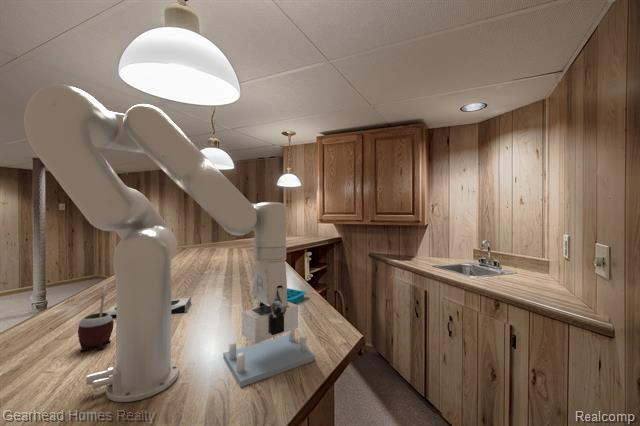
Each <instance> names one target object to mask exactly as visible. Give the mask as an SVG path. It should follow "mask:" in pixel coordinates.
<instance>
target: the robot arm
mask: <svg viewBox="0 0 640 426" xmlns="http://www.w3.org/2000/svg"><path fill="white" fill-rule="evenodd" d="M25 106H26V107H25V110H24V114H23V126H24V131H25V135H26V138H27V140H28V142H29V144H30V147H31V148H32V150H33V152H34V153H35V154H36V155H37V157H38V158H39V160H40V161H41V163H42V164H43V165H44V166H45V167H46V169H47V170H48V171H49V172H50V173H51V175H53V177H54V178H55V180H56V181H57V182H58V184H59V185H60V186H61V188H62V189H63V191H64V192H65V193H66V195H67V196H68V197H69V199H71V201H72V202H73V203H74V205H75V206H76V207H77V208H78V210H79V211H80V212H81V214H82V215H83V216H84V218H85V219H86V220H87V221H88V222H89V224H90V225H92V226H93V227H94V228H96V229H98V230H100V231H105V232H115V233H116V234H117V235H118V237H119V239H120V240H119V242H118V243H117V245H116V247H115V250H114V253H113V258H112V263H113V265H112V266H113V273H114V280H115V292H116V293H115V295H116V296H115V297H116V301H115V305H116V312H117V318H116V326H115V327H116V329H115V330H116V336H115V337H116V338H115V339H116V340H115V342H116V343H115V351H116V352H115V361H114V364H113V365H112V366H108V368H107V369H105V370H101V371H95V372H91V373H87V374H86V377H85V378H86V379H85V385H86V386H90V385H92V389H93V390H95V389H98V388H102V387H103V386H105V396H106V398H108V399H109V400H111V401H113V402H119V403H129V402H137V401H140V400H141V401H142V400H144V399H147V398H151V397H152V396H155V395H157V394H158V393H161V392H163V391H164V390H166V389H167V388H169V387H170V386H171V385H172V384H174V383H175V381H176V380H177V378H178V377H179V373H180V367H179V365H178V364H177V362H175V361H172V314H171V303H172V302H171V300H172V296H173V295H172V290H173V289H172V273H171V271H172V269H171V268H172V267H171V266H172V260H173V259H174V257H175V256H176V254H177V252H178V239H177V238H176V235H175V234H174V233H173V231H172V229H171V228H170V227H169V226H168V224H167V222H165V219H163V218H162V216H161V214H160V213H159V212H158V210H157V209H156V208H155V206H154V205H153V204H152V202H151V201H150V200H149V199H148V198H147V197H146V196H145V195H144V194H143V193H142V192H140V191H139V190H137V189H134V188H132V187H129V186H127V185H126V184H125V183H124V182H123V180H122V179H121V178H120V177H119V175H118V174H117V173H116V171H115V170H114V169H113V168H112V166H111V164H110V163H109V162H108V161H107V159H106V158H105V157H104V155H103V154H102V153H101V152H100V151H99V150H98V148H102V149H106V150H113V151H114V150H115V151H123V152H131V153H135V154H136V153H137V154H139V153H140V154H146V155H147V157H149V158H150V159H151V160H152V161H153V162H154V163H155V164H156V165H157V166H158V167H159V168H160V169H161V170H162V171H163V172H164V173H165V174H166V175H167V176H168V177H169V179H171V180H172V181H173V182H174V184H176V185H177V186H178V187H179V189H181V190H182V191H184V192H185V193H186V194H188V195H189V196H190V197H191V198H192V199H193V200H194V201H195V202H196V203H197V204H198V205H200V207H201V208H202V209H204V211H205V212H206V213H208V215H209V216H210V217H212V219H214V221H215V222H216V223H217V224H218V225H220V226H221V227H222V229H224V231H226V232H227V233H228V234H230V235H233V236H239V237H240V236H245V235H247V234H249V233H251V232H252V231H253V232H254V261H255V262H254V270H253V287H252V288H253V289H252V293H253V297H254V298H255V299H257V307H259V306H263V305H266V306H270V307H271V312H272V317H270V333H271V335H275V334H278V333H282V332H284V316H285V312H286V309H287V307H288V302H287V300H286V299H287V288H288V284H287V281H288V279H287V267H286V260H287V208H286V207H287V206H286V205H285V204H284V203H282V202H277V201H276V202H275V201H274V202H271V201H266V202H265V201H263V202H259V203H251V202H250V200H248V198H246V196H245V195H244V194H243V193H242V192H241V191H240V190H239V189H238V188H237V187H236V186H235V185H234V183H232V182H231V181H230V180H229V179H228V178H227V177H226V176H225V175H224V174H223V173H222V172H221V171H220V170H219V169H218V167H216V166H215V165H214V163H213V162H212V161H211V160H210V159H209V158H208V157H207V156H206V155H205V154H204V153H203V152H202V151H201V150H200V149H199V148H198V147H197V146H196V145H195V143H193V142H192V141H191V139H190V138H189V137H188V136H187V135H186V134H185V133H184V132H183V131H182V130H181V128H179V127H178V126H177V125H176V123H174V121H173V120H171V118H170V117H169V116H168V115H167V114H166V113H165V112H163V110H162V109H160V108H158V107H156V106H154V105H151V104H148V103H147V104H145V103H142V104H141V103H140V104H136V105H134V106H131V107H130V108H128V109H127V111H126V112H125V113H121V112H120V113H119V112H114V111H110V110H108V109H107V108H106V107H105V106H103V104H102V103H100V102H99V101H98V100H97V99H95V97H93V96H92V95H91V94H89V93H87V92H85V91H84V90H82V89H80V88H76V87H74V86H71V85H67V84H63V83H62V84H60V83H57V84H56V83H55V84H49V85H46V86H43V87H41V88H40V89H38V90H37V91H36V92H34V94H33V95H31V97H30V98H29V100H28V102H27V104H26V105H25ZM275 300H279V302H276V303H274V301H275ZM277 305H279V307H278V308H277V309H276V311H275V306H277ZM282 334H283V333H282Z"/></svg>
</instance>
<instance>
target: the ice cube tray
mask: <svg viewBox="0 0 640 426" xmlns="http://www.w3.org/2000/svg"><path fill="white" fill-rule="evenodd" d="M306 294H307V291H303V290H300V289H294V288H289V287H287V299H286V300H287V301H288V302H291V303H293V304H297V303H299V302H301V301H303V300H304V299H305V295H306ZM277 301H279V300H275V301H274V302H277Z"/></svg>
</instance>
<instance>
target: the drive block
mask: <svg viewBox="0 0 640 426" xmlns="http://www.w3.org/2000/svg"><path fill="white" fill-rule="evenodd" d="M277 302H279V301H277ZM287 302H288V301H287ZM274 303H276V302H274ZM278 307H279V305H277V306H275V311H276V309H277V308H278ZM270 317H272V312H271V307H270V306H266V305H263V306H259V307H258V306H256V307H252V308H250V309H249V308H248V309H246V310H242V311H241V336H243V337H244V338H246V339H248V340H249V341H250V342H252V343H253V344H258V343H261V342H265V341H268V339H269V340H270V339H273V338H274V337H277V336H279V335H283V334H285V333H287V332H288V333H289V331H290V330H293V329H295V330H296V329H297V328H299V306H298V304H297V303H295V304H293V303H291V302H288V307H287V309H286V312H285V316H284V332H282V333H278V334H275V335H271V333H270Z"/></svg>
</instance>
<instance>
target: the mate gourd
mask: <svg viewBox="0 0 640 426" xmlns="http://www.w3.org/2000/svg"><path fill="white" fill-rule="evenodd" d="M107 287H108V283H104V286H103V289H102V292H101V295H100V298H101V299H100V309H99V312H97V313H93V314H90V315H86V316H85V317H83V318H82V319H81V321H80V322H79V325H78V327H77V328H78V329H77V337H78V340H79V341H78V343H79V346H80V348H81V349H80V353H81V354H84V353H85V352H88V351H92V350H94V349H95V350H97V351H99V352H101V351H103V350H104V347H103V346H105V345H109V344H110V343H111V341H112V340H110V339H111V335H112V333H113V330H114V318H112V316H111V315H110V314H108V313H107V312H103V310H104V302H105V297H106V294H105V293H106V289H107Z"/></svg>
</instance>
